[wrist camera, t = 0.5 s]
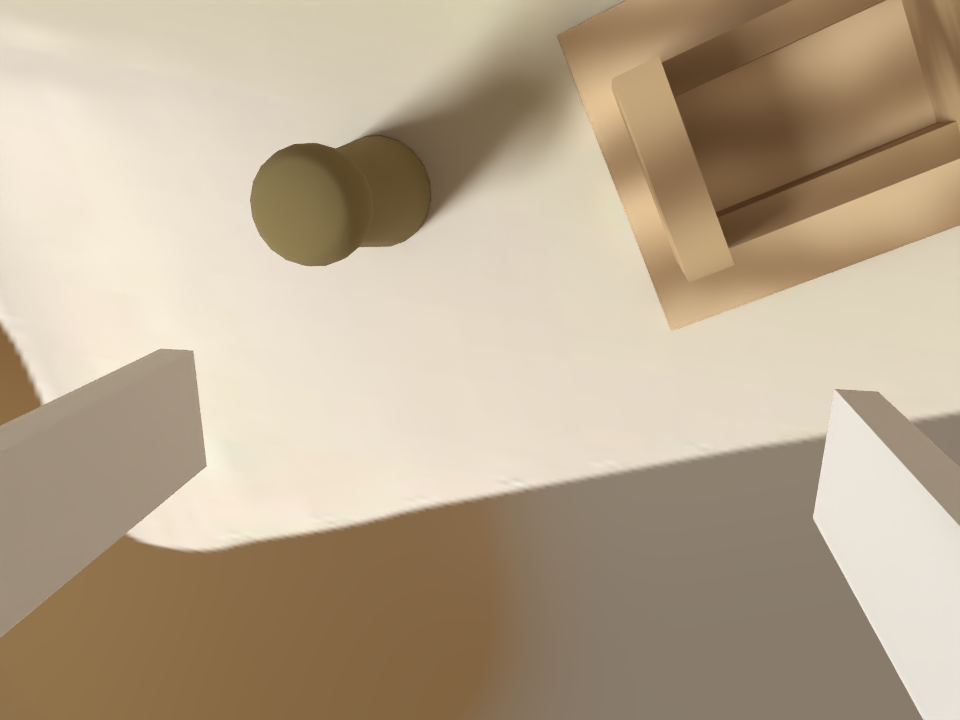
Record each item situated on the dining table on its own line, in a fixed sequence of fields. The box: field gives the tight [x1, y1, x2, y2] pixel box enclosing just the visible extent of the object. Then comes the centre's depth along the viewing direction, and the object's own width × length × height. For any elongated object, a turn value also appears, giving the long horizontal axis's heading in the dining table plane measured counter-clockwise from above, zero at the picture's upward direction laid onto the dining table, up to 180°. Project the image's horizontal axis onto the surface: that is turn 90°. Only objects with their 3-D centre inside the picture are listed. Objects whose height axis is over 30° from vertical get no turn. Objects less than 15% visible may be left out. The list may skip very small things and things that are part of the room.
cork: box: [250, 136, 431, 266], centre depth 34 cm, size 6×6×11 cm
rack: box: [557, 0, 960, 331], centre depth 32 cm, size 16×18×7 cm
